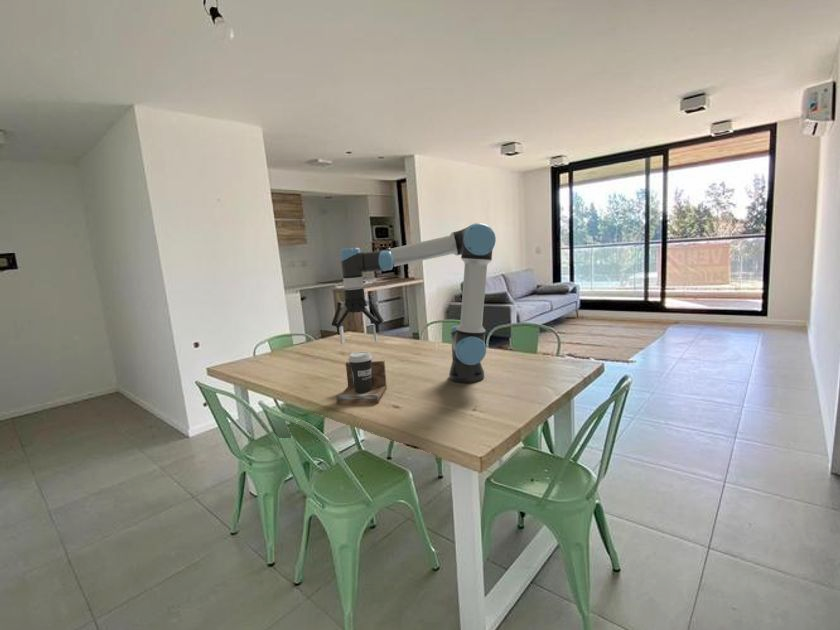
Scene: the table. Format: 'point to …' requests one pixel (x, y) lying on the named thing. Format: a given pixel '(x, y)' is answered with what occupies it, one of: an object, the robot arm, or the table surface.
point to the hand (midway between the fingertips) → (359, 342)
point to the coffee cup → (361, 371)
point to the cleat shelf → (369, 397)
